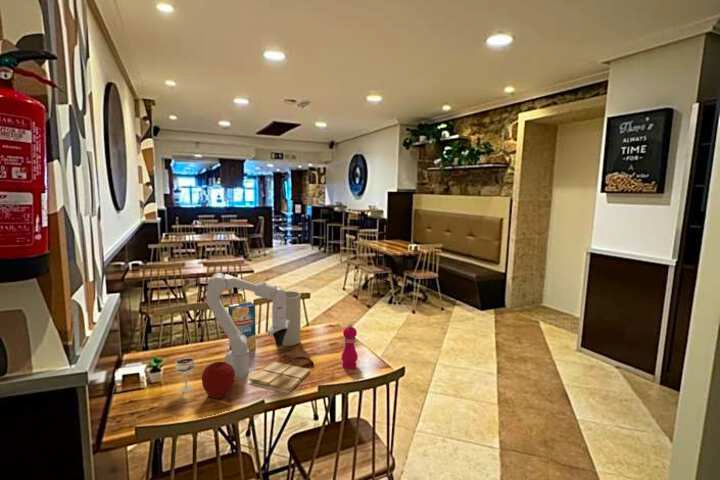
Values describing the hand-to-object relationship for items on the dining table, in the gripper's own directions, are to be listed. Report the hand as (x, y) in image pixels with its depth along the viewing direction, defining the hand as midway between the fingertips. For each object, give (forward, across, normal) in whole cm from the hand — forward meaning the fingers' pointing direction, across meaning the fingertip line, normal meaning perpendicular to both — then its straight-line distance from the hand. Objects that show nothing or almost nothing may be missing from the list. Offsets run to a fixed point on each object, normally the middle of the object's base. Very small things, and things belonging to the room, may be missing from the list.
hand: (279, 345), depth 166 cm
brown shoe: (+11, +10, -4) cm, 15 cm away
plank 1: (+10, -12, -1) cm, 15 cm away
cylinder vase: (+11, +26, +11) cm, 30 cm away
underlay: (+10, -8, -5) cm, 14 cm away
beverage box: (+11, +10, +27) cm, 31 cm away
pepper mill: (+11, +13, -28) cm, 33 cm away
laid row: (+10, -3, -5) cm, 12 cm away
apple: (+11, -28, +9) cm, 31 cm away
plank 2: (+10, -12, -10) cm, 18 cm away
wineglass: (+11, -29, +24) cm, 39 cm away
